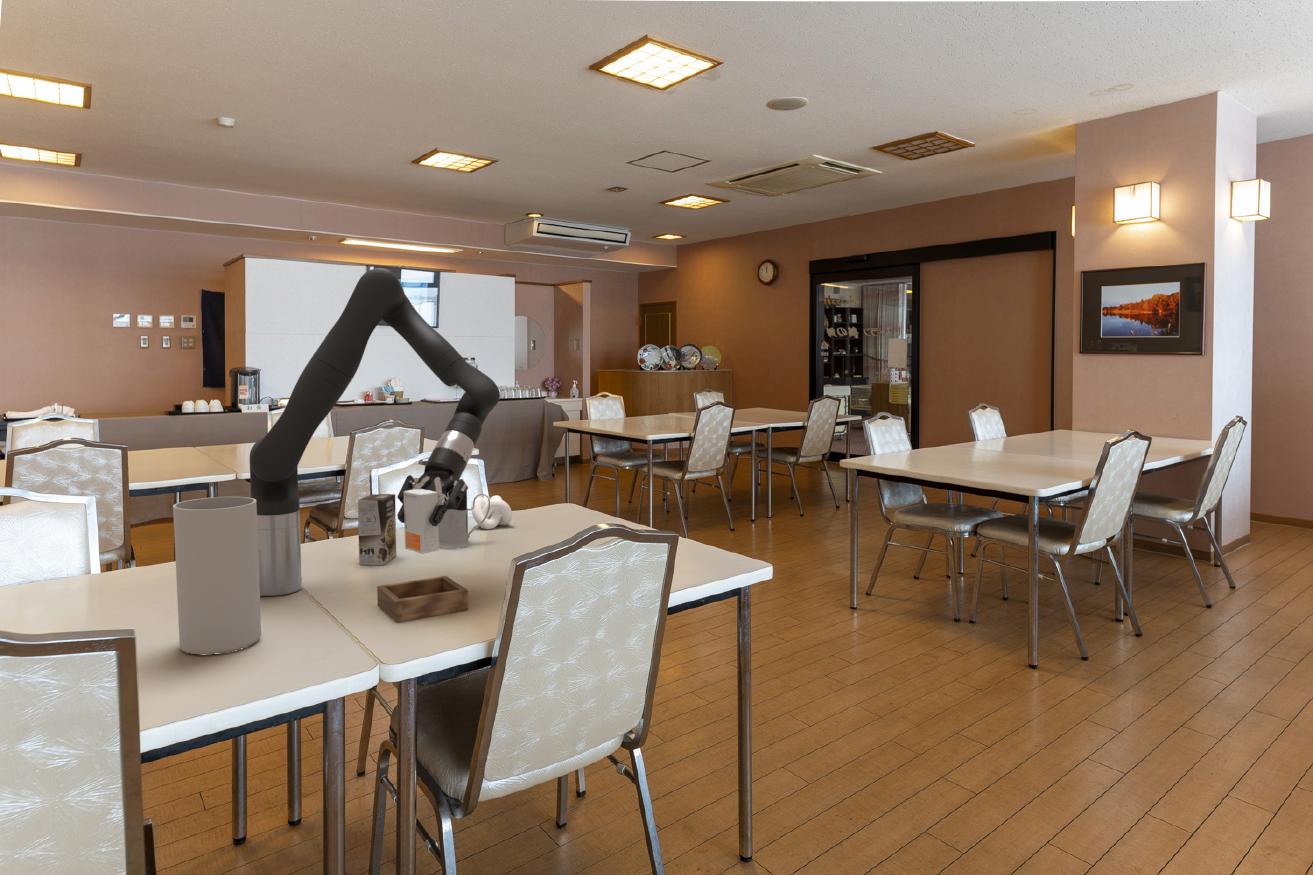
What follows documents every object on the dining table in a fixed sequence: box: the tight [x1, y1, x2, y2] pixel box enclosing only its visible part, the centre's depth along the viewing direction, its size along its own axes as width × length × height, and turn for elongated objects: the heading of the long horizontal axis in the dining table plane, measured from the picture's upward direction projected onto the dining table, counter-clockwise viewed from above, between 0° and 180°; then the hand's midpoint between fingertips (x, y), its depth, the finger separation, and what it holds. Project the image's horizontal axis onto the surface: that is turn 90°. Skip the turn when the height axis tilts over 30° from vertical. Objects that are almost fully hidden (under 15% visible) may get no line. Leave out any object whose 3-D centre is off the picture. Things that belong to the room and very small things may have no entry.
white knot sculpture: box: [470, 494, 513, 530], centre depth 236 cm, size 11×12×9 cm
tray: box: [376, 575, 469, 623], centre depth 159 cm, size 14×12×4 cm
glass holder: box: [438, 490, 490, 550], centre depth 212 cm, size 9×14×15 cm, turn 107°
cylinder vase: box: [172, 496, 262, 655], centre depth 137 cm, size 12×12×25 cm
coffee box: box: [357, 493, 397, 566], centre depth 195 cm, size 9×6×16 cm
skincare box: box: [403, 489, 440, 555], centre depth 158 cm, size 6×4×12 cm
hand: (416, 522), depth 156 cm, fingers closed on skincare box, 7 cm apart
